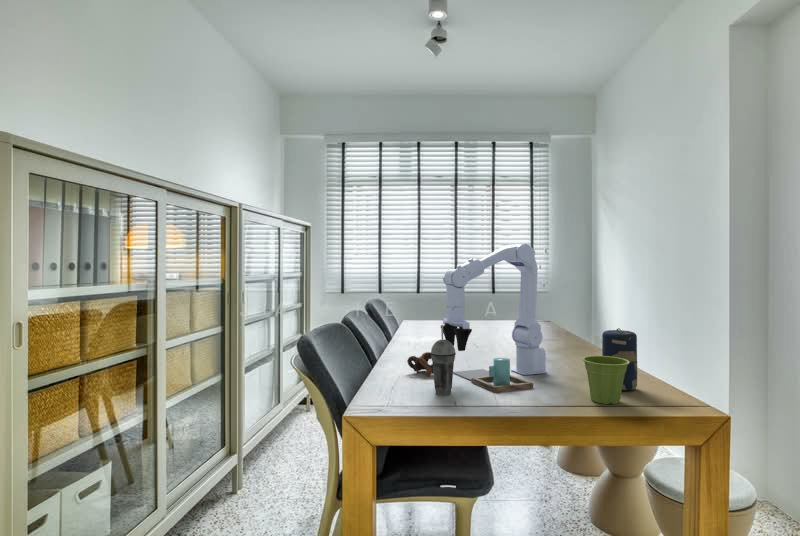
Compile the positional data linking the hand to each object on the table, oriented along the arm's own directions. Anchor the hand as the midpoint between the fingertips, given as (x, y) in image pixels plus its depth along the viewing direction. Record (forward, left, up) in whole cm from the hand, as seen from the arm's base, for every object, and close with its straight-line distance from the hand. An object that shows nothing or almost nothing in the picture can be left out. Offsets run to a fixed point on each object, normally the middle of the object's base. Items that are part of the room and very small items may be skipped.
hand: (455, 348), depth 162 cm
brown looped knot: (+5, -12, -10) cm, 17 cm away
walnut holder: (-10, +12, -10) cm, 18 cm away
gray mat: (-10, -3, -10) cm, 14 cm away
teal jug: (-10, +12, -10) cm, 18 cm away
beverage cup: (+11, +14, -10) cm, 20 cm away
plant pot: (-26, +38, -10) cm, 47 cm away
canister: (-40, +29, -10) cm, 50 cm away
